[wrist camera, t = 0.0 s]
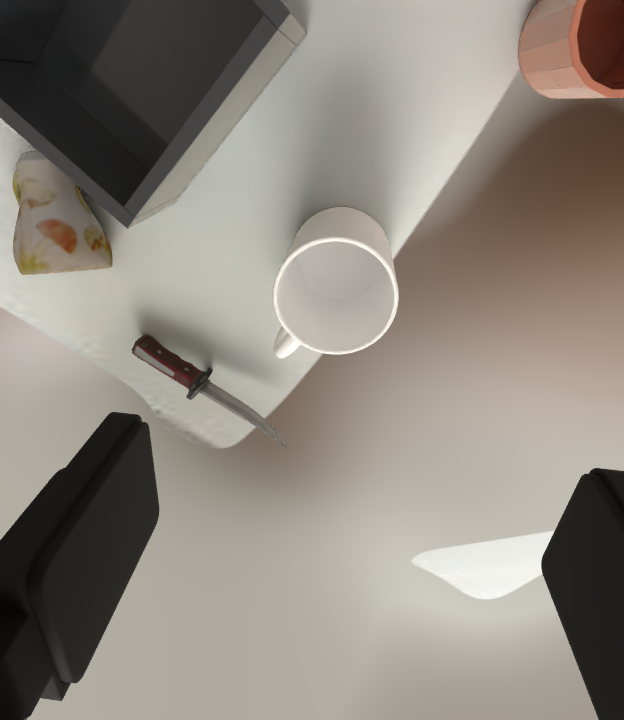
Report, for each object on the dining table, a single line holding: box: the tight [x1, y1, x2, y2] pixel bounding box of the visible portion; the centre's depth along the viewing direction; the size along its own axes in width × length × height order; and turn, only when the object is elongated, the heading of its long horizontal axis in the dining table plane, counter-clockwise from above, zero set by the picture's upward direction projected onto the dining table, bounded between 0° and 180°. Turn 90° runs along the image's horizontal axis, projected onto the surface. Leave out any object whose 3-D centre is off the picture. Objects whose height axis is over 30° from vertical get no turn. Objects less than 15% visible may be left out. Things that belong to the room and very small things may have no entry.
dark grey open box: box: [0, 0, 307, 228], centre depth 29 cm, size 16×14×9 cm
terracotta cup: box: [518, 0, 624, 99], centre depth 27 cm, size 7×7×9 cm
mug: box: [13, 151, 112, 275], centre depth 37 cm, size 8×10×10 cm
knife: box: [132, 335, 286, 447], centre depth 44 cm, size 17×1×5 cm, turn 59°
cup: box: [273, 207, 399, 358], centre depth 36 cm, size 8×12×10 cm
